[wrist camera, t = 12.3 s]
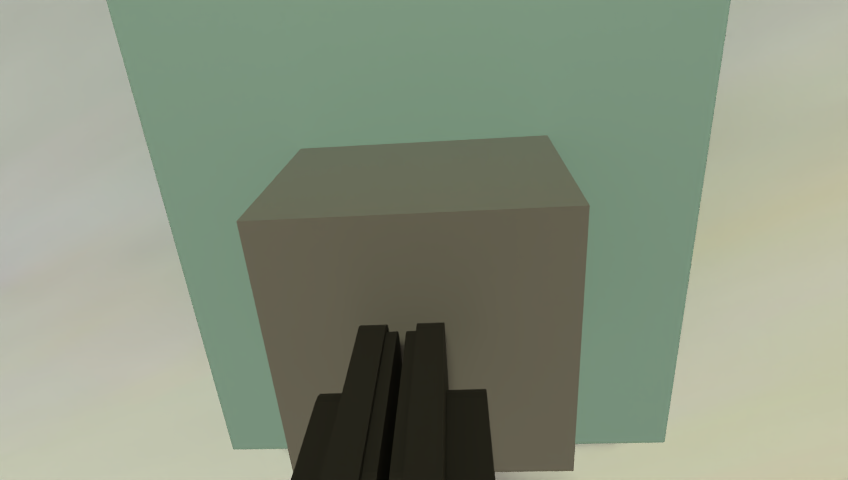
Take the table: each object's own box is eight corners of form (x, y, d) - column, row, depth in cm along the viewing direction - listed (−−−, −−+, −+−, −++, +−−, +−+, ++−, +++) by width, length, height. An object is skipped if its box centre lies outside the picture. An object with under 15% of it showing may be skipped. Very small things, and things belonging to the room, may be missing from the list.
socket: (669, -50, 17) (739, -57, 13) (626, 360, 23) (664, 442, 19) (183, -12, 18) (103, -9, 14) (270, 369, 24) (233, 449, 20)
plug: (528, 104, 18) (589, 205, 10) (526, 280, 21) (573, 471, 13) (330, 115, 19) (236, 221, 11) (353, 286, 22) (293, 474, 13)
